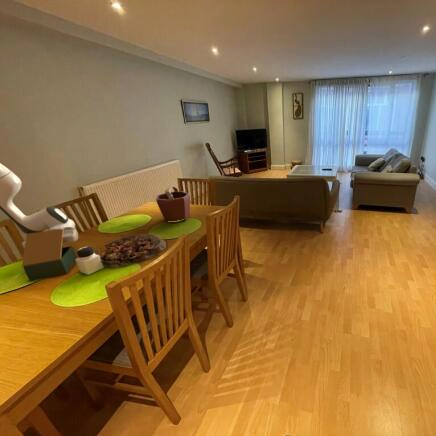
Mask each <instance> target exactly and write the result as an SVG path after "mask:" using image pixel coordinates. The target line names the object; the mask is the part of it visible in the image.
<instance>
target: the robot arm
mask: <svg viewBox="0 0 436 436" xmlns="http://www.w3.org/2000/svg"><path fill="white" fill-rule="evenodd" d="M22 184H23V183H22V180H21V179H20V178H19V176H18V175H17V174H15V173H14V172H13V171H12V170H11V169H9V168H8V167H7V166H6V165H4V164H2V163H1V162H0V211H2V212H3V213H4V214H5V215H6V216H7V217H8V219H10V220H11V221H12V222H13V223H14V224H15V225H16V227H17V228H18V229H19V230H20V231H21V232H22V233H23V234H25V235H27V234H31V233H38V232H45V231H52V230H59V229H63V230H64V232H63V243H62V245H63V244H69V243H74V242H77V241H78V239H79V234H78V231H77V228H76V223H75V222H74V220H73V219H71V218H68V216H67V213H65V212H64V211H63V210H62V209H60V208H58V207H54V206H47V207H44V208H42V209H40V210H38V211H37V212H34V213H32V214H30V215H25V214H24V213H23V212H22V210H21V209H19V207H17V206H16V205H15V203H14V202H13V199H14V198H15V196H16V195H17V194H18V193H19V192H20V191H21V188H22ZM25 243H26V239H25V240H24V241H22V243H21V244H22V247H23V248H24V249H25Z"/></svg>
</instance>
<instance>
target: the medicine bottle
mask: <svg viewBox="0 0 436 436" xmlns="http://www.w3.org/2000/svg"><path fill="white" fill-rule="evenodd" d="M94 252H95V250H94V248H93V247H92V246H84V247H80V248H79V249H77V251H76V255H77V258H78V259H76V262H75V263H76V265H77V268H78V270H79V272H80V273H83V274H85V275H91V274H93V273H96V272H98V271H100V270H102V269H104V268H105V267H104V266H103V264H102V262H100V261H101V258H100V256H99V255H100V254H97V255H96V254H95V253H94Z"/></svg>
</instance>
